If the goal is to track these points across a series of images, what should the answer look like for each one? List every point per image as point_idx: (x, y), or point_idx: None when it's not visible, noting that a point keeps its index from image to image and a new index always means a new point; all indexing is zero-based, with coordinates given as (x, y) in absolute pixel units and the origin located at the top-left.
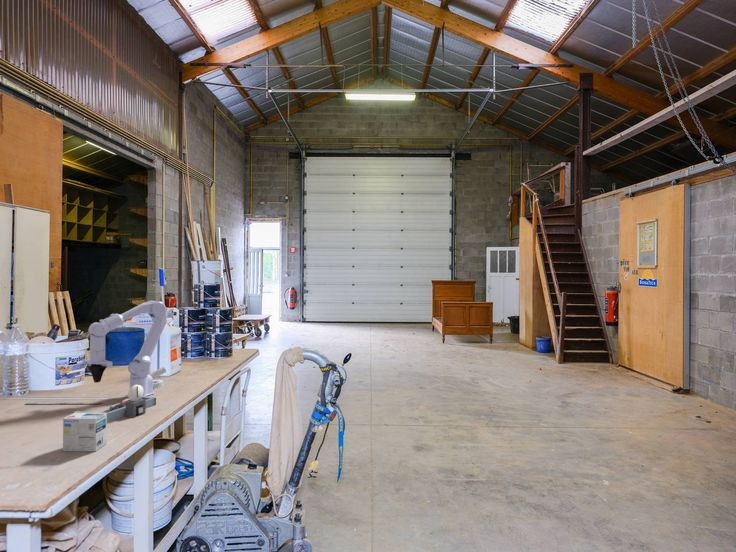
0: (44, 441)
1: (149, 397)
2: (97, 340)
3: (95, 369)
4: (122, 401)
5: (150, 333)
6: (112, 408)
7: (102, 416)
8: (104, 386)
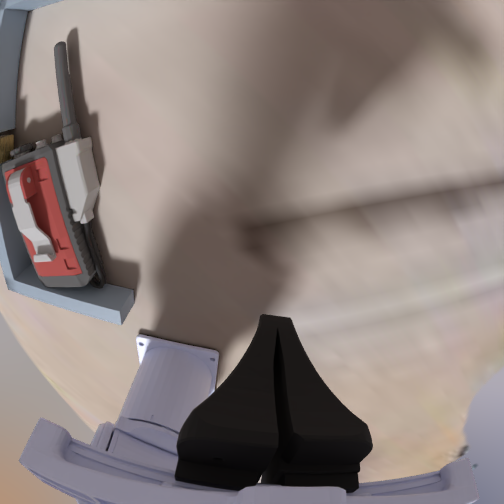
0: None
1: (25, 290)
2: None
3: (219, 410)
4: (18, 177)
5: None
6: (64, 137)
7: None
8: (400, 418)
